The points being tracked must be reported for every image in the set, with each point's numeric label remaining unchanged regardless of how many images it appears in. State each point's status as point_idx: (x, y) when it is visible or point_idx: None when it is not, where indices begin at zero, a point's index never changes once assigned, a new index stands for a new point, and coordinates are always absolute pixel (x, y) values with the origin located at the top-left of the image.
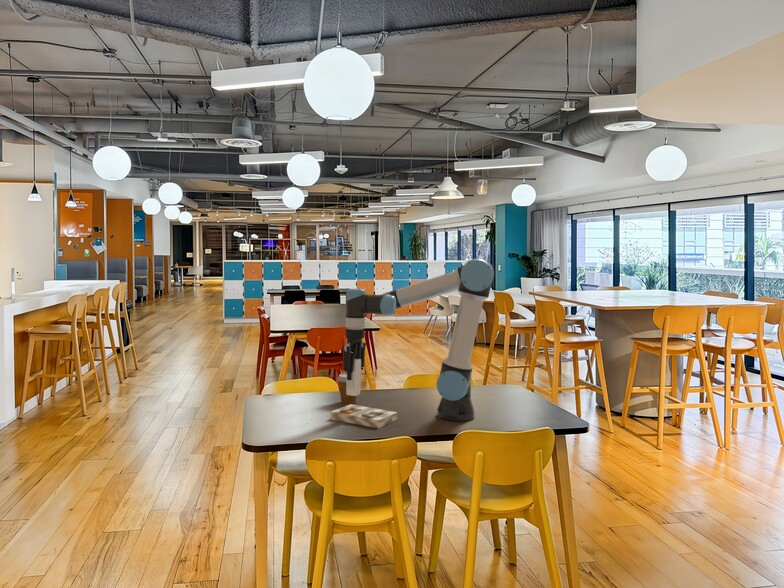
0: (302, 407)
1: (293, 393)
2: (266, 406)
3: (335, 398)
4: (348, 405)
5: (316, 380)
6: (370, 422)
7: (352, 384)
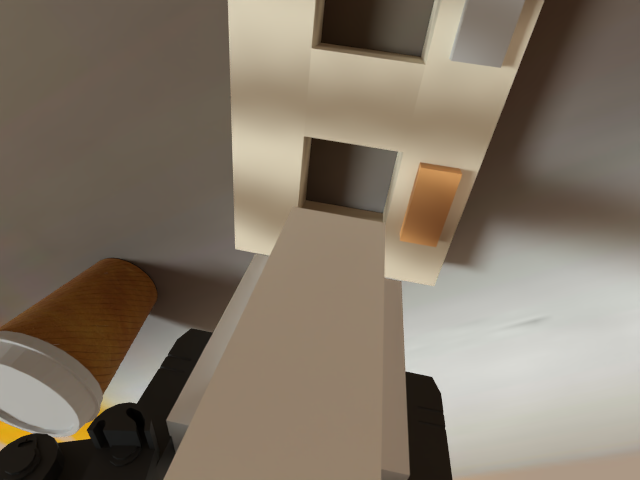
0: None
1: None
2: None
3: None
4: (264, 250)
5: (5, 431)
6: None
7: (402, 316)
